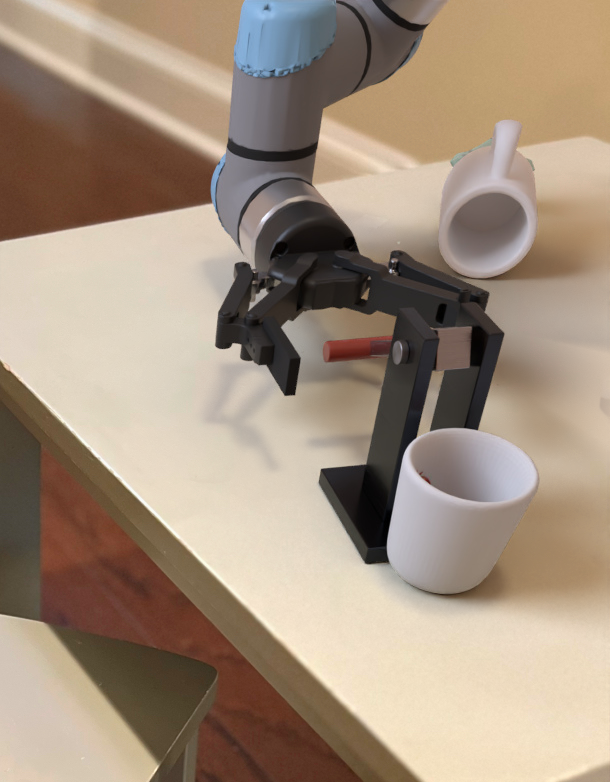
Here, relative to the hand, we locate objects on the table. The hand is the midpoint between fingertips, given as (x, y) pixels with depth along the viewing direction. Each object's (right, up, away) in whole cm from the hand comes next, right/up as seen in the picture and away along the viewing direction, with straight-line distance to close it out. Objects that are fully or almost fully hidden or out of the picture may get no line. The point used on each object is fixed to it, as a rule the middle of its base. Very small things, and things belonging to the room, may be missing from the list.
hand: (389, 369), depth 80 cm
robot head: (+21, +29, +39) cm, 53 cm away
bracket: (+1, -10, 0) cm, 10 cm away
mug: (+18, +21, +31) cm, 41 cm away
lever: (0, -1, -3) cm, 3 cm away
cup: (+2, -14, -3) cm, 14 cm away
